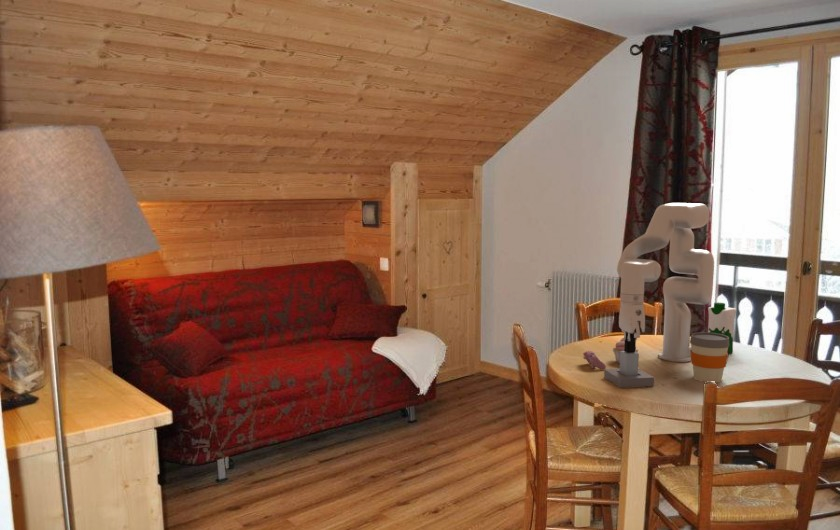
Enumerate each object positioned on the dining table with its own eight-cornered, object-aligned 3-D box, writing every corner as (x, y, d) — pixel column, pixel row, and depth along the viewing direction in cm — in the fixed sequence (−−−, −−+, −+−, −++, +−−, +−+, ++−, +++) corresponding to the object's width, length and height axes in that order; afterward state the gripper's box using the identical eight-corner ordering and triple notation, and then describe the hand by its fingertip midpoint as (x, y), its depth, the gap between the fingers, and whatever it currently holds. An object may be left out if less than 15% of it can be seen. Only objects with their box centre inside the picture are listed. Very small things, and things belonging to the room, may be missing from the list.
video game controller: (586, 367, 256) (579, 351, 255) (597, 361, 256) (590, 345, 255) (596, 374, 246) (588, 358, 245) (607, 368, 247) (599, 352, 245)
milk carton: (703, 351, 275) (705, 302, 272) (716, 348, 280) (719, 300, 277) (723, 355, 267) (726, 305, 265) (736, 352, 272) (739, 303, 270)
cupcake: (624, 366, 251) (625, 340, 250) (606, 360, 260) (607, 335, 258) (643, 363, 256) (644, 337, 254) (625, 358, 264) (626, 332, 263)
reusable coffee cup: (708, 385, 228) (710, 341, 226) (680, 375, 240) (682, 334, 238) (735, 381, 233) (738, 338, 231) (706, 372, 245) (709, 331, 243)
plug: (631, 378, 235) (632, 350, 233) (637, 382, 230) (638, 353, 229) (619, 379, 234) (620, 350, 233) (625, 383, 230) (626, 354, 228)
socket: (636, 376, 239) (636, 367, 239) (653, 386, 227) (654, 377, 227) (604, 377, 237) (604, 369, 237) (620, 387, 225) (620, 379, 225)
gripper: (653, 302, 222) (651, 357, 224) (631, 294, 237) (629, 346, 239) (632, 302, 221) (630, 358, 223) (611, 295, 235) (609, 347, 238)
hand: (629, 351), depth 231 cm, fingers closed
